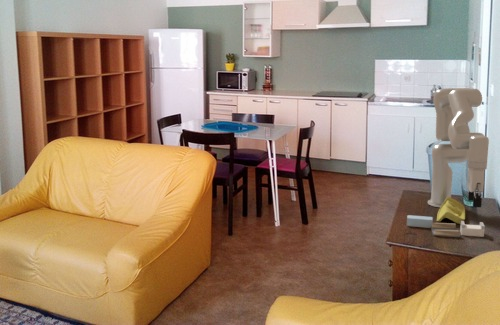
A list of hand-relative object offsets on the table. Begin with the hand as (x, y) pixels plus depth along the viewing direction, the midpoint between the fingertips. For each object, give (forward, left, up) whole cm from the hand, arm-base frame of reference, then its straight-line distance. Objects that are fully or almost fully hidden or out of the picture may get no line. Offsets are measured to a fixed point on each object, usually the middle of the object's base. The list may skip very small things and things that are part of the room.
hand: (474, 203), depth 220 cm
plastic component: (-22, -5, -14) cm, 26 cm away
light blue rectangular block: (-8, -21, -14) cm, 27 cm away
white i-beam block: (0, 0, -14) cm, 14 cm away
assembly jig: (0, -11, -14) cm, 18 cm away
